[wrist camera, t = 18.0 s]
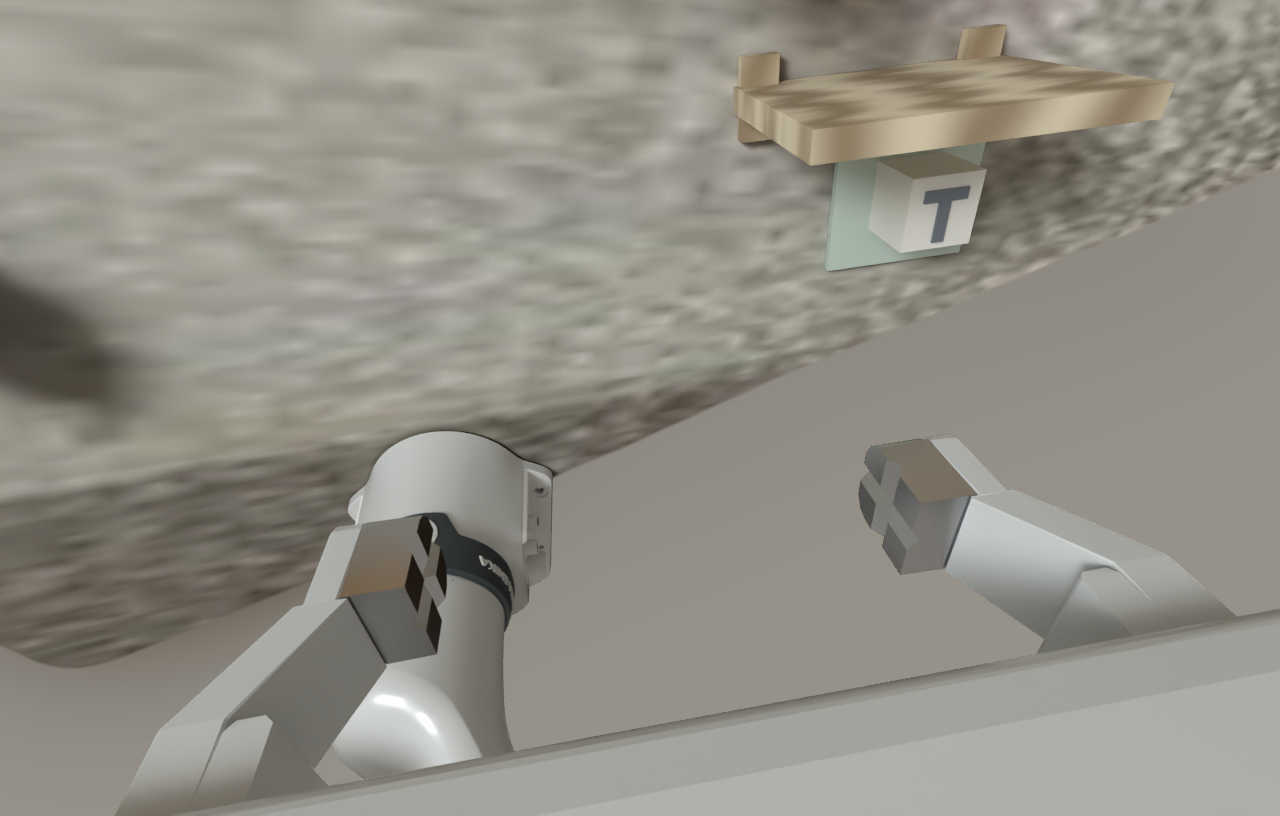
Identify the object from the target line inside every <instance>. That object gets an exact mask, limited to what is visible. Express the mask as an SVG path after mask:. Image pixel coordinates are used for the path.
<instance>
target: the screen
mask: <svg viewBox="0 0 1280 816" xmlns="http://www.w3.org/2000/svg"><path fill="white" fill-rule="evenodd" d="M1006 29H1007V25H999V24H997V25H988V26H980V27H972V28H964V29H962V34H961V39H960V44H959V49H958V54H957V59H950V60H942V61H934V62H926V63H918V64H910V65H902V66H895V67H887V68H879V69H871V70H863V71H855V72H847V73H839V74H831V75H823V76H815V77H807V78H799V79H792V80H784V81H779V65H780V53H777V52H769V53H761V54H753V55H745V56H738V86H736V87H734V114H735V115H736V116H738V141H740V142H741V143H747V142H755V141H762V140H770V139H772V140H773V141H775V142H776V143H777V144H779V145H780V146H782V147H783V148H785V149H786V150H788V151H789V152H791V153H792V154H794V155H795V156H797V157H798V158H799V159H801V160H802V161H804V162H805V163H807V164H808V165H810V166H813V165H821V164H828V163H836V162H843V161H850V160H858V159H865V158H873V157H880V156H887V155H895V154H902V153H910V152H917V151H925V150H932V149H939V148H947V147H954V146H962V145H969V144H976V143H984V142H991V141H999V140H1006V139H1014V138H1021V137H1028V136H1036V135H1043V134H1051V133H1058V132H1065V131H1073V130H1080V129H1088V128H1095V127H1103V126H1110V125H1117V124H1125V123H1132V122H1140V121H1147V120H1154V119H1161V117H1162V114H1163V112H1164V109H1165V107H1166V104H1167V102H1168V99H1169V97H1170V94H1171V92H1172V89H1173V87H1174V84H1175V82H1170V81H1163V80H1157V79H1151V78H1144V77H1138V76H1132V75H1125V74H1119V73H1113V72H1106V71H1100V70H1094V69H1088V68H1081V67H1075V66H1069V65H1062V64H1056V63H1050V62H1043V61H1037V60H1031V59H1024V58H1018V57H1012V56H1006V55H1000V54H1001V50H1002V46H1003V41H1004V37H1005V33H1006Z"/></svg>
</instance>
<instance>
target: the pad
mask: <svg viewBox="0 0 1280 816" xmlns="http://www.w3.org/2000/svg"><path fill="white" fill-rule="evenodd" d="M985 145H986V142H984V143H976V144H969V145H962V146H954V147H947V148H939V149H932V150H925V151H917V152H910V153H902V154H895V155H887V156H880V157H873V158H865V159H858V160H850V161H843V162H836V163H835V168H834V177H833V187H832V197H831V207H830V216H829V226H828V236H827V246H826V256H825V265H824V269H825V270H826V271H833V270H840V269H846V268H853V267H860V266H867V265H874V264H881V263H888V262H895V261H901V260H908V259H915V258H922V257H929V256H936V255H943V254H950V253H956V252H959V251H960V247H961V244H960V245H953V246H946V247H939V248H932V249H925V250H918V251H911V252H904V253H899V252H898V251H897V250H895V249H894V248H893V247H891V246H890V245H889V244H887V243H886V242H885V241H883V240H882V239H881V238H879V237H878V236H877V235H876V234H874V233H873V232H872V231H870V230H869V229H868V227H869V220H870V213H871V206H872V199H873V192H874V185H875V178H876V171H877V164H878V161H879V160H886V159H893V158H901V157H908V156H916V155H923V154H930V153H938V152H947V153H949V154H952V155H954V156H957V157H959V158H961V159H964V160H966V161H968V162H971V163H973V164H976V165H978V166H980V165H981V161H982V157H983V153H984V149H985Z"/></svg>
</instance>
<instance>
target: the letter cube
mask: <svg viewBox="0 0 1280 816" xmlns="http://www.w3.org/2000/svg"><path fill="white" fill-rule="evenodd" d="M986 172H987V169H985V168H983V167H980V166H978V165H976V164H973V163H971V162H968V161H966V160H964V159H961V158H959V157H957V156H954V155H952V154H949V153H947V152H938V153H930V154H923V155H916V156H908V157H901V158H893V159H886V160H879V161H878V164H877V171H876V178H875V185H874V192H873V199H872V206H871V213H870V220H869V227H868V229H869V230H870V231H872V232H873V233H874V234H876V235H877V236H878V237H879V238H881V239H882V240H883V241H885V242H886V243H887V244H889V245H890V246H891V247H893V248H894V249H895V250H897V251H898V252H899V253H904V252H911V251H918V250H925V249H932V248H939V247H946V246H953V245H960V244H967V243H969V239H970V235H971V231H972V227H973V223H974V219H975V215H976V211H977V207H978V203H979V199H980V195H981V191H982V188H983V184H984V180H985V176H986Z"/></svg>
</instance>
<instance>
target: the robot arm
mask: <svg viewBox="0 0 1280 816" xmlns="http://www.w3.org/2000/svg"><path fill="white" fill-rule="evenodd" d="M864 463H865V465H866V466H867V468H868V469H869V472H868V473H867V474H866V475H865V476H864V477H863V479H862V480H861V481H860V487H859V493H858V494H859V501H860V508H861V510H862V513H863V516H864V518H865V520H866V522H867V523H868V525H869V527H870V528H871V529H872V530H874V531H876V532H878V533H879V534H881V535H883V536H884V540H883V545H882V547H883V549H884V550H885V552H886V553H887V555H888V557H889V558H890V560H891V561H892V563H893V564H894V566H895V568H896V569H897V571H898V572H899V574H900V575H902V574H909V573H916V572H923V571H930V570H937V569H944V568H946V569H945V571H946V572H948V573H949V574H950V575H952V576H954V577H955V578H956V579H958V580H959V581H961V582H962V583H964V584H965V585H966V586H968V587H969V588H971V589H973V590H974V591H975V592H977V593H978V594H979V595H981V596H982V597H984V598H985V599H987V600H988V601H990V602H991V603H993V604H994V605H996V606H997V607H999V608H1000V609H1001V610H1003V611H1004V612H1006V613H1007V614H1009V615H1010V616H1011V617H1013V618H1014V619H1016V620H1017V621H1019V622H1020V623H1022V624H1023V625H1024V626H1026V627H1027V628H1029V629H1030V630H1032V631H1033V632H1035V633H1036V634H1038V635H1039V636H1040V637H1042V638H1044V641H1043V643H1042V645H1041V646H1040V648H1039V650H1038V652H1037V653H1036V654H1035V655H1030V656H1025V657H1019V658H1013V659H1008V660H1003V661H997V662H992V663H986V664H981V665H976V666H970V667H965V668H960V669H954V670H949V671H944V672H938V673H933V674H927V675H922V676H917V677H911V678H906V679H901V680H895V681H890V682H885V683H880V684H874V685H869V686H864V687H858V688H852V689H848V690H842V691H837V692H831V693H826V694H821V695H815V696H809V697H805V698H799V699H794V700H788V701H783V702H777V703H772V704H766V705H761V706H756V707H750V708H745V709H740V710H734V711H729V712H723V713H718V714H713V715H707V716H702V717H697V718H691V719H686V720H680V721H675V722H670V723H665V724H659V725H654V726H648V727H643V728H637V729H632V730H627V731H621V732H616V733H611V734H605V735H600V736H594V737H589V738H584V739H578V740H573V741H567V742H562V743H557V744H552V745H546V746H541V747H535V748H530V749H525V750H519V751H514V749H513V746H512V743H511V740H510V736H509V732H508V727H507V723H506V717H505V708H504V684H503V650H504V632H505V631H506V629H507V627H508V624H509V620H510V619H511V616H512V615H514V614H516V613H518V612H519V611H520V610H522V609H523V608H524V607H525V606H526V605H527V604H528V602H529V586H532V585H534V584H536V583H538V582H540V581H541V580H543V579H544V578H546V577H547V576H548V575H549V573H550V566H551V531H552V482H553V476H552V472H551V471H550V470H549V469H547V468H546V467H543V466H541V465H538V464H535V463H531V462H528V461H524V460H522V459H520V458H518V457H517V456H515V455H514V454H512V453H511V452H510V451H508V450H507V449H505V448H504V447H502V446H501V445H499V444H497V443H495V442H493V441H491V440H489V439H486V438H483V437H480V436H477V435H473V434H468V433H463V432H453V431H439V432H430V433H424V434H420V435H416V436H413V437H410V438H407V439H405V440H403V441H401V442H399V443H397V444H395V445H394V446H392V447H391V448H389V449H388V450H387V451H386V452H385V453H384V454H383V455H382V456H381V457H380V458H379V459H378V461H377V462H376V464H375V466H374V468H373V470H372V473H371V476H370V479H369V481H368V483H367V484H366V486H364V487H363V488H362V489H361V490H359V491H358V492H357V493H356V494H355V495H354V496H353V497H352V498H351V499H350V502H349V507H348V513H349V514H350V516H351V517H352V518H353V519H354V520H355V521H356V524H355V525H349V526H341V527H337V528H336V529H335V530H334V531H333V532H332V533H331V534H330V536H329V539H328V541H327V544H326V547H325V549H324V552H323V554H322V557H321V560H320V562H319V565H318V567H317V570H316V573H315V575H314V578H313V580H312V583H311V586H310V588H309V591H308V593H307V596H306V599H305V601H304V604H303V605H301V606H296V607H293V608H292V609H291V610H290V611H289V612H288V613H287V614H285V615H284V616H283V617H282V618H281V619H280V620H279V621H278V622H277V623H276V624H275V625H273V626H272V627H271V628H270V629H269V630H268V631H267V632H266V633H265V634H264V635H263V636H261V637H260V639H258V640H257V641H256V642H255V643H254V644H253V645H252V646H251V647H250V648H249V649H247V650H246V651H245V652H244V653H243V654H242V655H241V656H240V657H239V658H238V659H237V660H235V661H234V662H233V663H232V664H231V665H230V666H229V667H228V668H227V669H226V670H225V671H223V672H222V673H221V674H220V675H219V676H218V677H217V678H216V679H215V680H214V681H213V682H211V683H210V684H209V685H208V686H207V687H206V688H205V689H204V690H203V691H202V692H201V693H199V694H198V695H197V696H196V697H195V698H194V699H193V700H192V701H191V702H190V703H189V704H187V705H186V706H185V707H184V708H183V709H182V710H181V711H180V712H179V713H178V714H177V715H175V716H174V717H173V718H172V719H171V720H170V721H169V722H168V723H167V724H166V725H165V726H163V727H162V728H161V729H160V730H159V731H158V733H157V735H156V737H155V739H154V741H153V742H152V744H151V746H150V748H149V750H148V752H147V754H146V756H145V758H144V760H143V762H142V764H141V766H140V768H139V770H138V772H137V773H136V775H135V777H134V779H133V781H132V783H131V785H130V787H129V789H128V791H127V793H126V795H125V797H124V799H123V801H122V803H121V804H120V806H119V808H118V810H117V812H116V814H115V816H1280V609H1275V610H1270V611H1265V612H1260V613H1254V614H1248V615H1243V616H1238V617H1237V616H1236V615H1235V614H1234V613H1233V612H1231V611H1230V610H1229V609H1228V608H1227V607H1226V606H1225V605H1223V604H1222V603H1221V602H1220V601H1219V600H1218V599H1217V598H1216V597H1215V596H1213V595H1212V594H1211V593H1210V592H1209V591H1208V590H1207V589H1205V588H1204V587H1203V586H1202V585H1201V584H1200V583H1198V581H1196V580H1195V579H1194V578H1193V577H1192V576H1191V575H1190V574H1189V573H1187V572H1186V571H1185V570H1184V569H1183V568H1182V567H1181V566H1179V565H1178V564H1177V563H1176V562H1175V561H1174V560H1173V559H1172V558H1170V557H1169V556H1168V555H1166V554H1164V553H1162V552H1159V551H1157V550H1155V549H1153V548H1150V547H1148V546H1146V545H1143V544H1141V543H1139V542H1136V541H1134V540H1132V539H1129V538H1127V537H1125V536H1122V535H1120V534H1118V533H1115V532H1113V531H1111V530H1108V529H1106V528H1104V527H1101V526H1099V525H1097V524H1094V523H1092V522H1090V521H1088V520H1085V519H1083V518H1081V517H1078V516H1076V515H1074V514H1071V513H1069V512H1067V511H1064V510H1062V509H1060V508H1058V507H1055V506H1053V505H1051V504H1048V503H1046V502H1044V501H1041V500H1039V499H1037V498H1034V497H1032V496H1030V495H1027V494H1025V493H1023V492H1020V491H1018V490H1016V489H1015V490H1007V489H1006V488H1005V487H1004V486H1003V485H1002V484H1001V483H1000V482H999V481H998V480H997V479H996V478H995V477H994V476H993V475H992V474H991V473H990V472H989V471H988V470H987V469H986V468H985V467H984V466H983V465H982V464H981V462H980V461H979V460H978V459H977V458H976V457H975V456H974V455H973V454H972V453H971V452H970V451H969V450H968V449H967V448H966V447H965V446H964V445H963V444H962V443H961V442H960V441H959V440H958V439H957V438H956V437H955V436H953V435H951V434H949V433H948V434H942V435H936V436H930V437H924V438H921V439H913V440H907V441H901V442H895V443H888V444H882V445H876V446H871V447H870V448H869V449H868V451H867V452H866V456H865V461H864ZM538 487H541V489H537V488H538ZM331 745H332V747H333V749H334V751H335V752H336V754H337V755H338V757H339V758H340V760H341V761H342V762H343V763H344V764H345V765H346V766H347V767H348V768H350V769H351V770H352V771H353V772H355V773H357V775H359V776H360V777H362V778H363V780H358V781H353V782H347V783H342V784H337V785H331V786H329V785H328V784H327V783H326V782H325V781H324V780H323V778H322V777H321V776H320V775H319V774H318V773H317V772H316V771H315V767H316V766H317V764H318V763H319V761H320V760H321V759H322V757H323V756H324V755H325V753H326V752H327V750H328V749H329V748H330V746H331Z"/></svg>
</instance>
